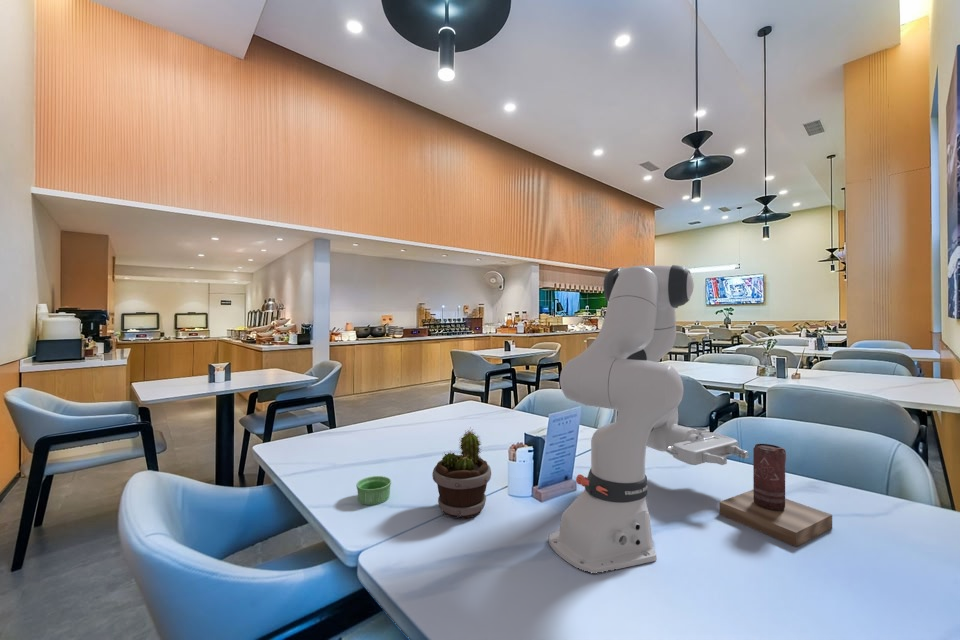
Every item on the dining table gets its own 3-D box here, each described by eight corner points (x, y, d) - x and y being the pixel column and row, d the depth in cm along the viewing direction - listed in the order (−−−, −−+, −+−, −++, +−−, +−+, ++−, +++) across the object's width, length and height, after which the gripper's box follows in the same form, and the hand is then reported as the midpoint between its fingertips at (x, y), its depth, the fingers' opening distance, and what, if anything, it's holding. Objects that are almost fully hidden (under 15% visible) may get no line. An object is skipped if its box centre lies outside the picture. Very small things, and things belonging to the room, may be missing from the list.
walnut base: (796, 547, 83) (796, 532, 83) (719, 514, 97) (719, 501, 97) (832, 527, 91) (832, 514, 91) (756, 499, 105) (756, 488, 105)
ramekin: (398, 498, 107) (397, 482, 107) (368, 510, 101) (368, 492, 101) (379, 488, 113) (379, 473, 113) (350, 499, 107) (349, 482, 107)
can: (792, 512, 92) (792, 451, 92) (761, 510, 93) (760, 450, 93) (778, 500, 98) (778, 443, 98) (749, 498, 99) (748, 442, 99)
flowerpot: (463, 532, 90) (463, 443, 90) (420, 510, 100) (419, 430, 100) (504, 509, 100) (504, 429, 100) (461, 491, 111) (461, 419, 111)
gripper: (661, 437, 109) (711, 452, 97) (707, 427, 118) (758, 440, 106) (661, 460, 109) (711, 478, 97) (708, 448, 119) (758, 463, 106)
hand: (736, 458), depth 102 cm, fingers open, 8 cm apart
